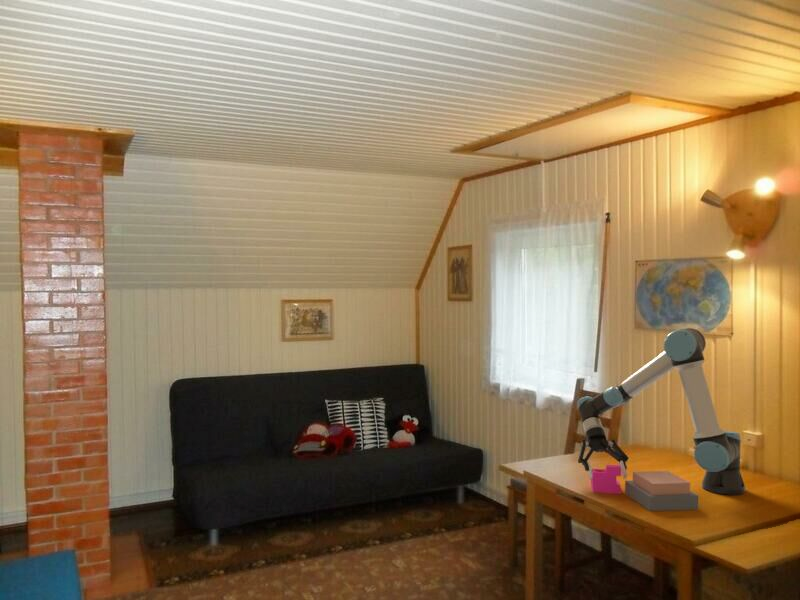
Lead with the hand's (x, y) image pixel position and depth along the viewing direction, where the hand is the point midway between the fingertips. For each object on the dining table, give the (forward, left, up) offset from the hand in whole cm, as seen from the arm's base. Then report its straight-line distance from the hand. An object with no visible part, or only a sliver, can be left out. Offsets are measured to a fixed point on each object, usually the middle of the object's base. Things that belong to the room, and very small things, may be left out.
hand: (608, 477), depth 260 cm
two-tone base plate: (-13, +16, -5) cm, 21 cm away
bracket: (+1, -2, -5) cm, 5 cm away
